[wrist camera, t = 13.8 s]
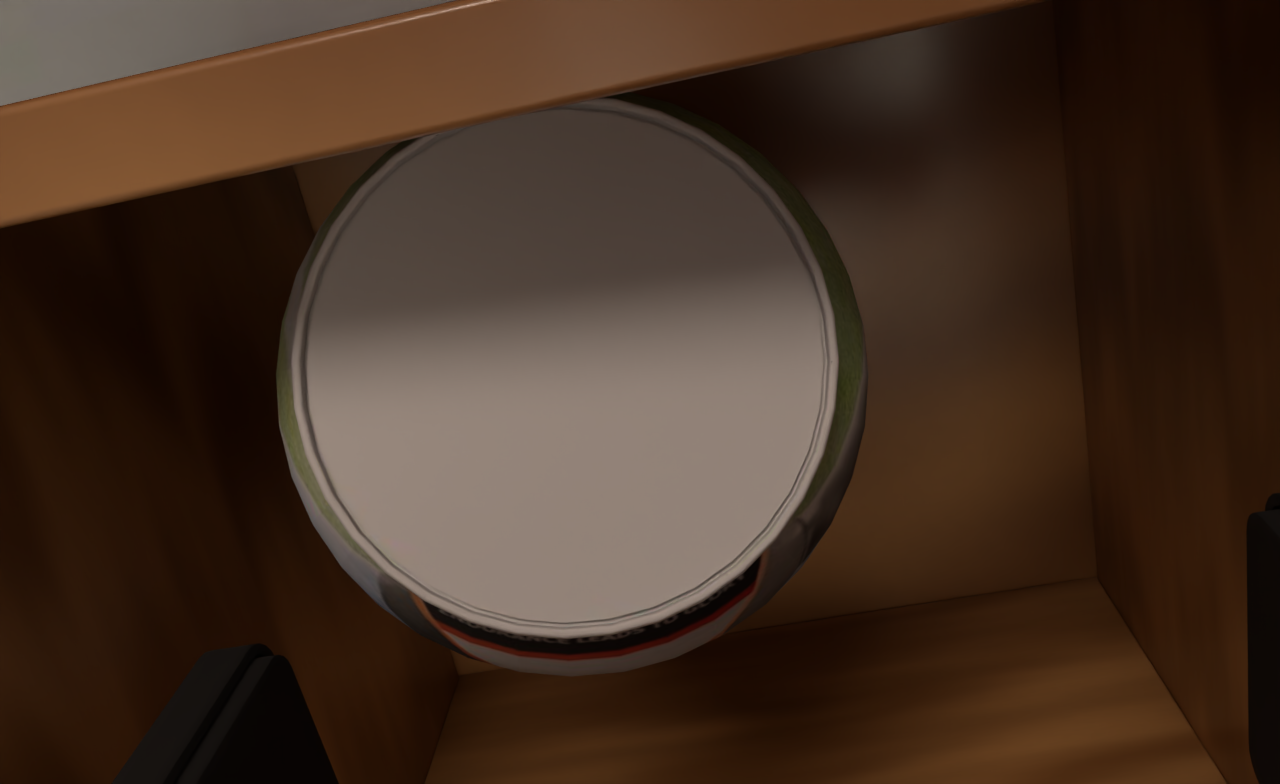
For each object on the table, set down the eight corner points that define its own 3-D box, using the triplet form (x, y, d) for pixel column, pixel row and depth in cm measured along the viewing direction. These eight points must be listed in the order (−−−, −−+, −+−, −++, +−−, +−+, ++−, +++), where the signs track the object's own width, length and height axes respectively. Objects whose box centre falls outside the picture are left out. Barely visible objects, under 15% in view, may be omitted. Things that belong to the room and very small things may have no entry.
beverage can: (446, 566, 22) (188, 873, 10) (446, 187, 21) (171, 31, 9) (766, 571, 22) (895, 888, 10) (774, 190, 21) (920, 36, 9)
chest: (231, 54, 21) (-516, 227, 8) (1075, -141, 19) (1866, -326, 6) (442, 686, 26) (191, 1410, 13) (1124, 582, 24) (1613, 1308, 11)
